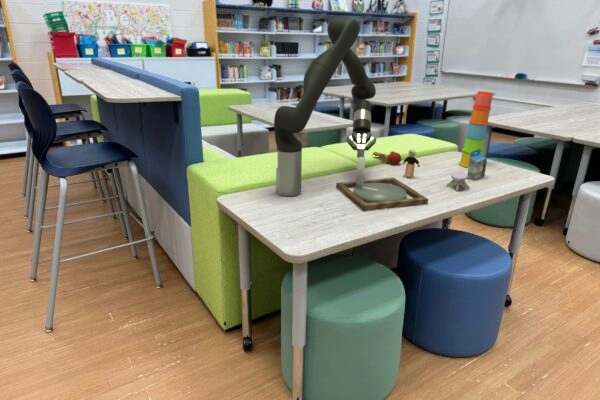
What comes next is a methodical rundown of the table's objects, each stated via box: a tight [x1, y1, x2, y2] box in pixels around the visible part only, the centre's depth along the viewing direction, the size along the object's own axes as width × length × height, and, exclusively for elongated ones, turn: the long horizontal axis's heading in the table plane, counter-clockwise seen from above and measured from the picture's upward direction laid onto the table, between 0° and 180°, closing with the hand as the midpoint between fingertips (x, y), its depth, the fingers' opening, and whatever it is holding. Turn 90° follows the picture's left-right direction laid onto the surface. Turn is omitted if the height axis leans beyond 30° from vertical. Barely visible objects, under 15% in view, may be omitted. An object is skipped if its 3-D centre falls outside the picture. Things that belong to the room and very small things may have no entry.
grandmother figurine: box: [401, 148, 421, 179], centre depth 185 cm, size 8×4×13 cm, turn 68°
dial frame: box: [335, 177, 429, 212], centre depth 165 cm, size 26×26×2 cm
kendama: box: [372, 150, 402, 166], centre depth 210 cm, size 8×6×18 cm
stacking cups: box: [458, 90, 494, 168], centre depth 199 cm, size 10×10×35 cm
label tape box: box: [466, 149, 488, 181], centre depth 185 cm, size 9×4×12 cm, turn 131°
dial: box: [353, 156, 408, 203], centre depth 163 cm, size 20×20×14 cm
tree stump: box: [445, 170, 471, 192], centre depth 174 cm, size 10×9×6 cm
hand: (360, 158), depth 175 cm, fingers closed
